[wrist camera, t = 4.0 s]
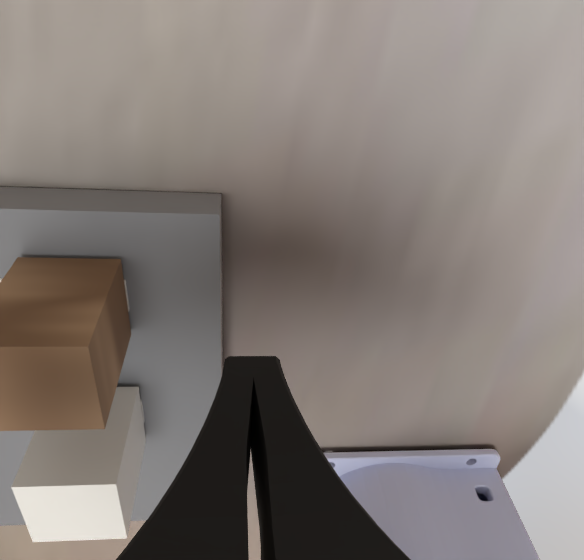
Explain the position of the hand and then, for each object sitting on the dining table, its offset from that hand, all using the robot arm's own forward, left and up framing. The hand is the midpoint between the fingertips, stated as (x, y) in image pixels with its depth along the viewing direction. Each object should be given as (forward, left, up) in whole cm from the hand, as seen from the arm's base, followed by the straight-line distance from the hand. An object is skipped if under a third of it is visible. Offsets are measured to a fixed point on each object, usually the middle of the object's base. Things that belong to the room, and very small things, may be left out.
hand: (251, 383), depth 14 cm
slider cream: (+5, +6, -4) cm, 9 cm away
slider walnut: (+5, 0, -4) cm, 7 cm away
